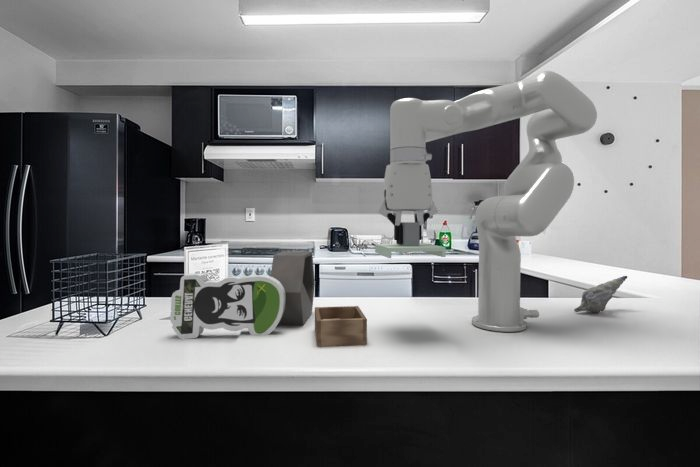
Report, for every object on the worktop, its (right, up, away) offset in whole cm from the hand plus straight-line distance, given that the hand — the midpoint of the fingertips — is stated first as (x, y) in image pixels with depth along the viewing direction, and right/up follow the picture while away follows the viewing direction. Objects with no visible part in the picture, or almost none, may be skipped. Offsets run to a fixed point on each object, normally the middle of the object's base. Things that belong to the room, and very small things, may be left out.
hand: (407, 242), depth 84 cm
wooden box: (-15, -21, -1) cm, 26 cm away
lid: (0, -3, 0) cm, 3 cm away
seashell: (+58, -20, +23) cm, 65 cm away
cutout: (-40, -21, +2) cm, 45 cm away
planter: (-27, -21, +14) cm, 37 cm away
